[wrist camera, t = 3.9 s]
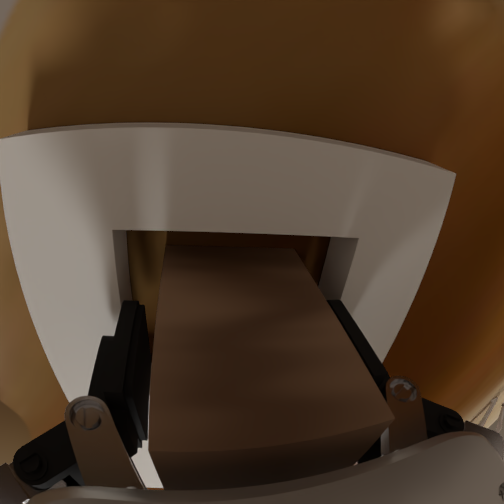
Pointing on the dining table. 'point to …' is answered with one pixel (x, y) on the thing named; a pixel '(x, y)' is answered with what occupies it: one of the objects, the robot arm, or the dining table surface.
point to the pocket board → (207, 221)
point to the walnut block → (253, 374)
